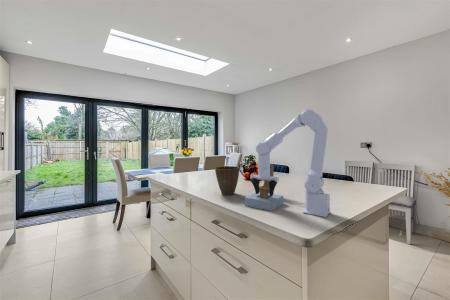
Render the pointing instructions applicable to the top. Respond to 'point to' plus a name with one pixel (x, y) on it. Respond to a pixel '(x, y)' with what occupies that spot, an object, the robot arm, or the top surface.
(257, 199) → the socket
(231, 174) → the plant pot
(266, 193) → the peg
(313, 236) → the top surface
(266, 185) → the wooden block
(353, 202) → the top surface
